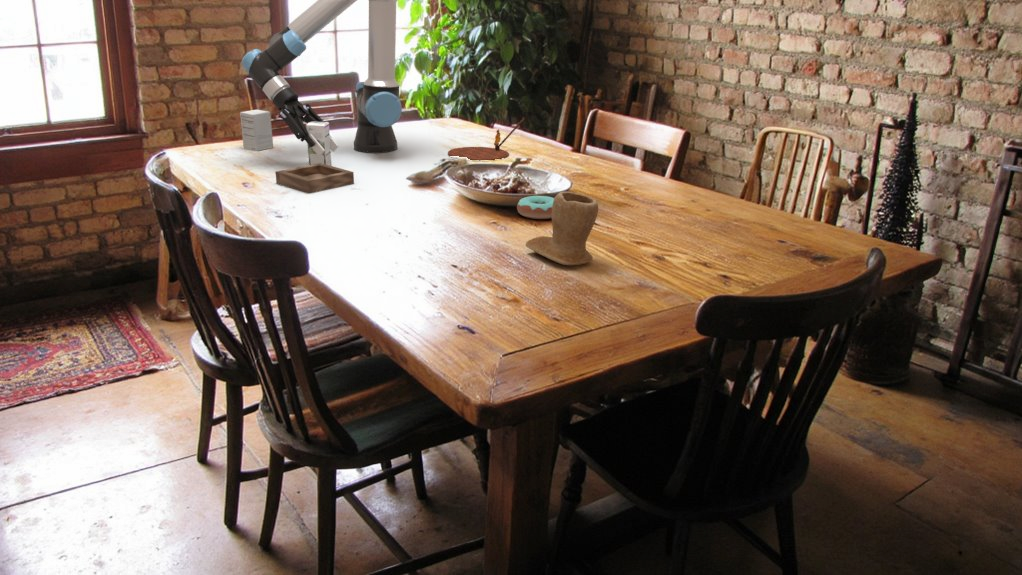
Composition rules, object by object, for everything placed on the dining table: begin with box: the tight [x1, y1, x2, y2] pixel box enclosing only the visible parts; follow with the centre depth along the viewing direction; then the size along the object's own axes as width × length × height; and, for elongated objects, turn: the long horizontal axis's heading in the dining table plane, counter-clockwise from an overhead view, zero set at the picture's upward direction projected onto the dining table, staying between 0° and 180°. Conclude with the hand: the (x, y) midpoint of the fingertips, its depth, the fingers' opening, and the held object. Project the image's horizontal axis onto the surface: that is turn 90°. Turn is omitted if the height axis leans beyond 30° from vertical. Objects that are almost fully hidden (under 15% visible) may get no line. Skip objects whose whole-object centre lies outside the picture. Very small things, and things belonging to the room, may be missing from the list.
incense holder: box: [447, 117, 526, 161], centre depth 290 cm, size 21×30×11 cm
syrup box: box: [305, 121, 333, 166], centre depth 263 cm, size 6×6×14 cm
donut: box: [516, 195, 555, 220], centre depth 222 cm, size 12×12×4 cm
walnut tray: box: [274, 163, 355, 194], centre depth 248 cm, size 16×16×4 cm
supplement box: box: [239, 109, 274, 152], centre depth 290 cm, size 7×7×13 cm
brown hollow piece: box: [525, 191, 599, 266], centre depth 187 cm, size 15×12×15 cm
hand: (328, 151), depth 262 cm, fingers closed on syrup box, 7 cm apart
